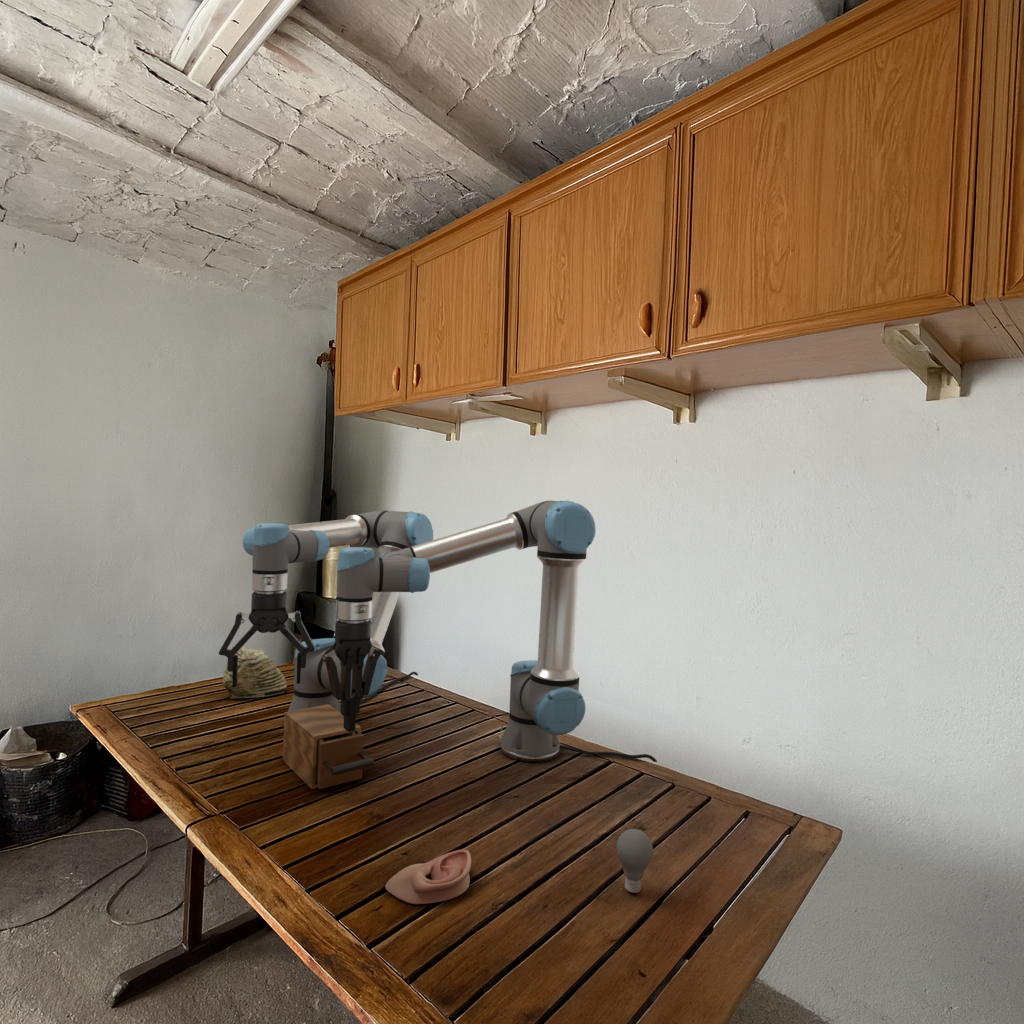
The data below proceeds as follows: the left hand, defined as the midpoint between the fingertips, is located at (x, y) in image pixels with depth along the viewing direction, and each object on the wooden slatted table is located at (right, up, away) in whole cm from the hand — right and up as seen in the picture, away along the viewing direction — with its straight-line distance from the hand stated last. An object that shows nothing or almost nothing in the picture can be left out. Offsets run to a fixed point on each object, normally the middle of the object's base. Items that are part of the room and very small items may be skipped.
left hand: (267, 683), depth 145 cm
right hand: (+21, -7, -9) cm, 24 cm away
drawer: (+15, -20, -2) cm, 25 cm away
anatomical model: (+42, -23, -40) cm, 62 cm away
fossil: (-25, -18, +53) cm, 61 cm away
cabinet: (+11, -21, +3) cm, 24 cm away
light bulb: (+76, -24, -39) cm, 89 cm away
